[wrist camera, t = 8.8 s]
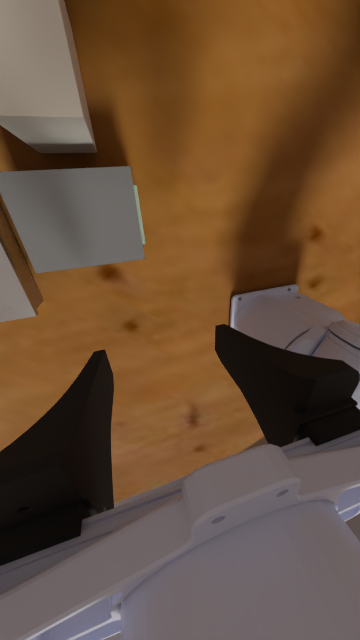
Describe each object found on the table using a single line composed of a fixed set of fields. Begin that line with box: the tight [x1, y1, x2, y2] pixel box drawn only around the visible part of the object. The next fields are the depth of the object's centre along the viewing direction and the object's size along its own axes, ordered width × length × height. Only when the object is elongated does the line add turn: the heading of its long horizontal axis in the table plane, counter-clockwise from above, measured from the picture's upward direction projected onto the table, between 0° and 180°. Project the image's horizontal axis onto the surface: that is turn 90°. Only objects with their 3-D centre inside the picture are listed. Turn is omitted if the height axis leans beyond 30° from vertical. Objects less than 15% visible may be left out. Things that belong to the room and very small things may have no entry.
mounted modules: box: [0, 166, 145, 273], centre depth 12 cm, size 8×21×4 cm, turn 4°
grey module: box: [0, 0, 97, 153], centre depth 11 cm, size 4×6×7 cm
